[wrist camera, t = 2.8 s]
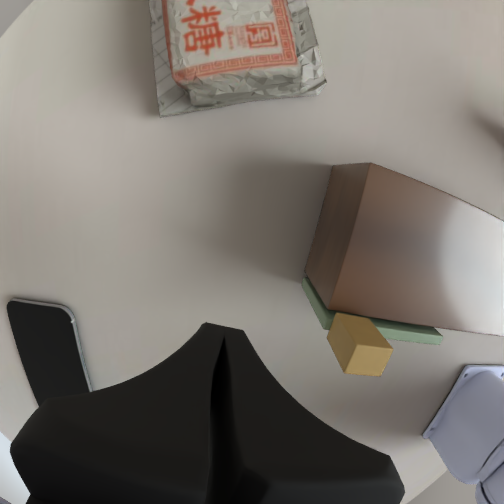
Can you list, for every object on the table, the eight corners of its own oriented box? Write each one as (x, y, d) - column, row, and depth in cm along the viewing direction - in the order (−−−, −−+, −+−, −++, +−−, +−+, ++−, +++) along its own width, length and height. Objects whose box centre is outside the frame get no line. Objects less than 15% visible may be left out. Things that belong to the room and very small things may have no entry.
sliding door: (394, 309, 21) (463, 379, 12) (299, 291, 20) (336, 373, 11) (401, 292, 20) (476, 356, 12) (305, 271, 20) (349, 343, 11)
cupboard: (465, 306, 21) (509, 337, 15) (304, 271, 20) (327, 309, 14) (491, 226, 20) (542, 243, 14) (332, 165, 18) (369, 162, 13)
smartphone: (49, 429, 23) (3, 299, 19) (51, 425, 23) (8, 296, 20) (109, 446, 23) (69, 309, 19) (111, 441, 24) (74, 305, 20)
